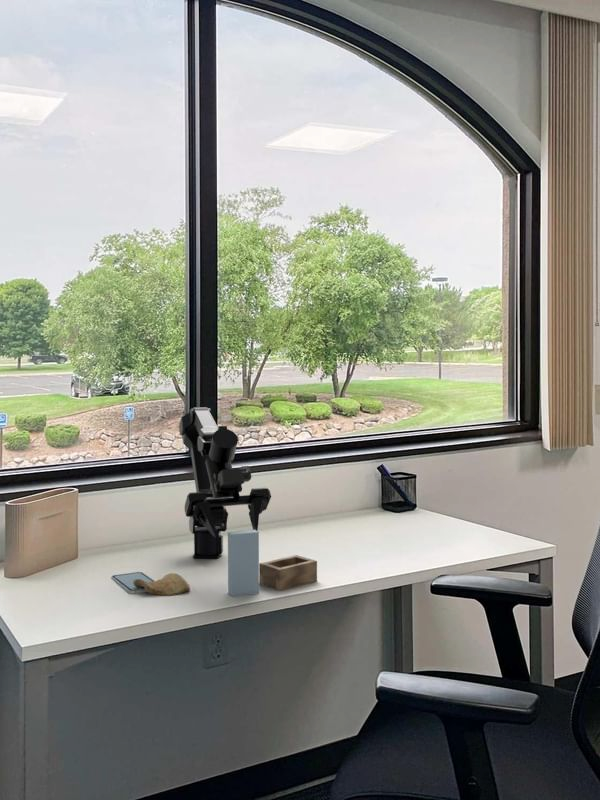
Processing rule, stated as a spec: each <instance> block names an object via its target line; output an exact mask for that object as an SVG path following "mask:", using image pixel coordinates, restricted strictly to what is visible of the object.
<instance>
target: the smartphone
mask: <svg viewBox="0 0 600 800" xmlns="http://www.w3.org/2000/svg"><path fill="white" fill-rule="evenodd" d="M110 577H111V579H112V580H113V581H114V582H116V583H117V585H119V586H120V587H121V588H122V589H123V590H125V591H126V592H127V593H128V594H130V595H133V594H134V595H135V594H142V593H147V591H146V589H145V588H137V587H135V586H134V584H133V581H134V580H136V579H142V580H143V581H145V582H154V581H155V580H154V579H152V577H150V576H149V575H147V574H145V573H144V572H141V571H137V572H135V571H134V572H129V573H122V574H113V575H111V576H110Z"/></svg>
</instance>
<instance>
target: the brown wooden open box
mask: <svg viewBox="0 0 600 800" xmlns="http://www.w3.org/2000/svg"><path fill="white" fill-rule="evenodd" d="M317 581H318V561H317V560H315V559H311V558H308V557H305V556H301V555H298V554H295V555H291V556H287V557H282V558H278V559H273V560H269V561H264V562H259V585H262V586H265V587H268V588H271V589H274V590H276V591H279V592H280V591H284V590H287V589H291V588H295V587H299V586H302V585H304V586H305V585H306V584H311V583H315V582H317Z"/></svg>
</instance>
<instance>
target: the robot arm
mask: <svg viewBox="0 0 600 800" xmlns="http://www.w3.org/2000/svg"><path fill="white" fill-rule="evenodd" d="M189 410H190V411H189V412H188V413H187V412H186V414H184V415H182V416H181V418H180V421H179V425H178V430H179V431H178V432H179V436H181V437H182V442H183V443H182V444H183V445H184V446H185V447H186V448H187V449H188V450H189V451H190V456H191V462H192V463H191V465H192V471H193V479H194V484H195V490H196V491H195V492H189V493H188V494H187V496H186V499H185V502H184V513H185V516H186V517H187V518H189V519H188V527H189V531H190V533H191V534H193V544H194V545H193V546H194V547H193V551H194V552H193V554H192V559H193V558H194V559H219V558H220V557H221V556H222V554H223V552H224V536H223V535H222V533H221V532H226V531H227V529H228V527H227V523H228V519H229V512H228V511H227V508H226V507H232V506H234V507H235V506H247V508H248V510H249V512H248V516H249V519H250V523H251V527H252V530H256V531H258V529H259V519H260V515H261V514H262V513H263V512H264V511H266V510H267V509H268V506H269V503H270V501H271V499H272V494H271V493H272V492H270V491H271V490H270V489H269V488H267V487H257V488H255V487H254V488H251V489H250V492H249V494H247V495H240V493H242V490H243V486H242V485H243V484H245V483H246V482H250V481H251V479H252V472H251V469H250V466H249V465H243V466H240V467H239V468H233V464H232V461H234V458H235V456H236V455H235V454H236V450H237V446H238V443H239V437H238V435H237V434H236V433H235V432H234V431H233V430H231V429H228V426H227V425H217V423H216V421H215V418H214V416H213V414H212V409H211V408H210V407H209V408H208V407H193V408H190V409H189ZM258 532H259V531H258Z"/></svg>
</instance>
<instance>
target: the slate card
mask: <svg viewBox="0 0 600 800" xmlns="http://www.w3.org/2000/svg"><path fill="white" fill-rule="evenodd" d="M259 533H260V532H259V531H256V530H253V529H247V530H245V529H244V530H235V531H227V593H228V594H229V596H231V597H237V596H246V595H255V594H260V584H259V563H260V559H259V558H260V546H259V545H260V542H259V541H260V540H259V539H260V536H259V535H260V534H259Z"/></svg>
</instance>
